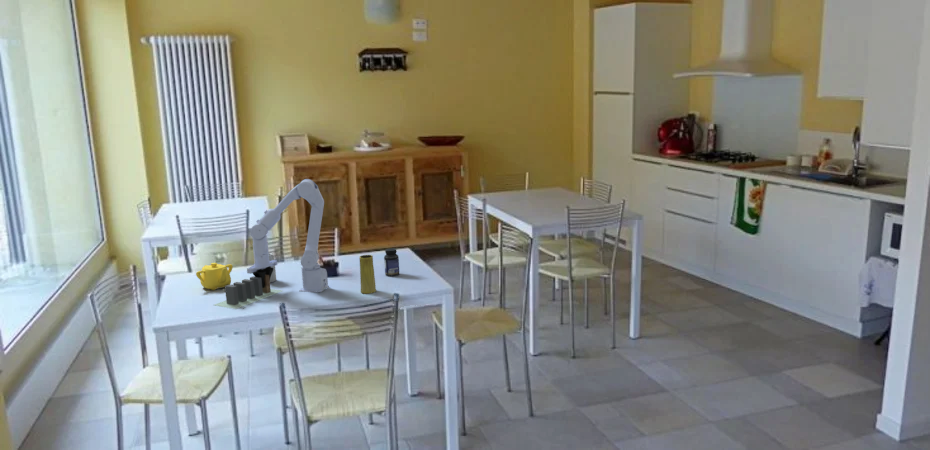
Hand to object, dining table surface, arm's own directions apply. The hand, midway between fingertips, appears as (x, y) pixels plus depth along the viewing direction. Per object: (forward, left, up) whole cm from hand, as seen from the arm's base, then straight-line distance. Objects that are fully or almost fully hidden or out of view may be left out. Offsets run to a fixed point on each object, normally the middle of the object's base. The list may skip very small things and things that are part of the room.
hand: (264, 286), depth 282 cm
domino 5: (0, 0, -2) cm, 2 cm away
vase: (-42, -7, -3) cm, 42 cm away
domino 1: (+4, +16, -2) cm, 17 cm away
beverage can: (+6, -15, -3) cm, 16 cm away
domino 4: (+1, +4, -2) cm, 5 cm away
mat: (+2, +8, -2) cm, 9 cm away
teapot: (+24, -5, -3) cm, 25 cm away
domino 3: (+2, +8, -2) cm, 9 cm away
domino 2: (+3, +12, -2) cm, 13 cm away
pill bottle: (-43, -32, -3) cm, 53 cm away
